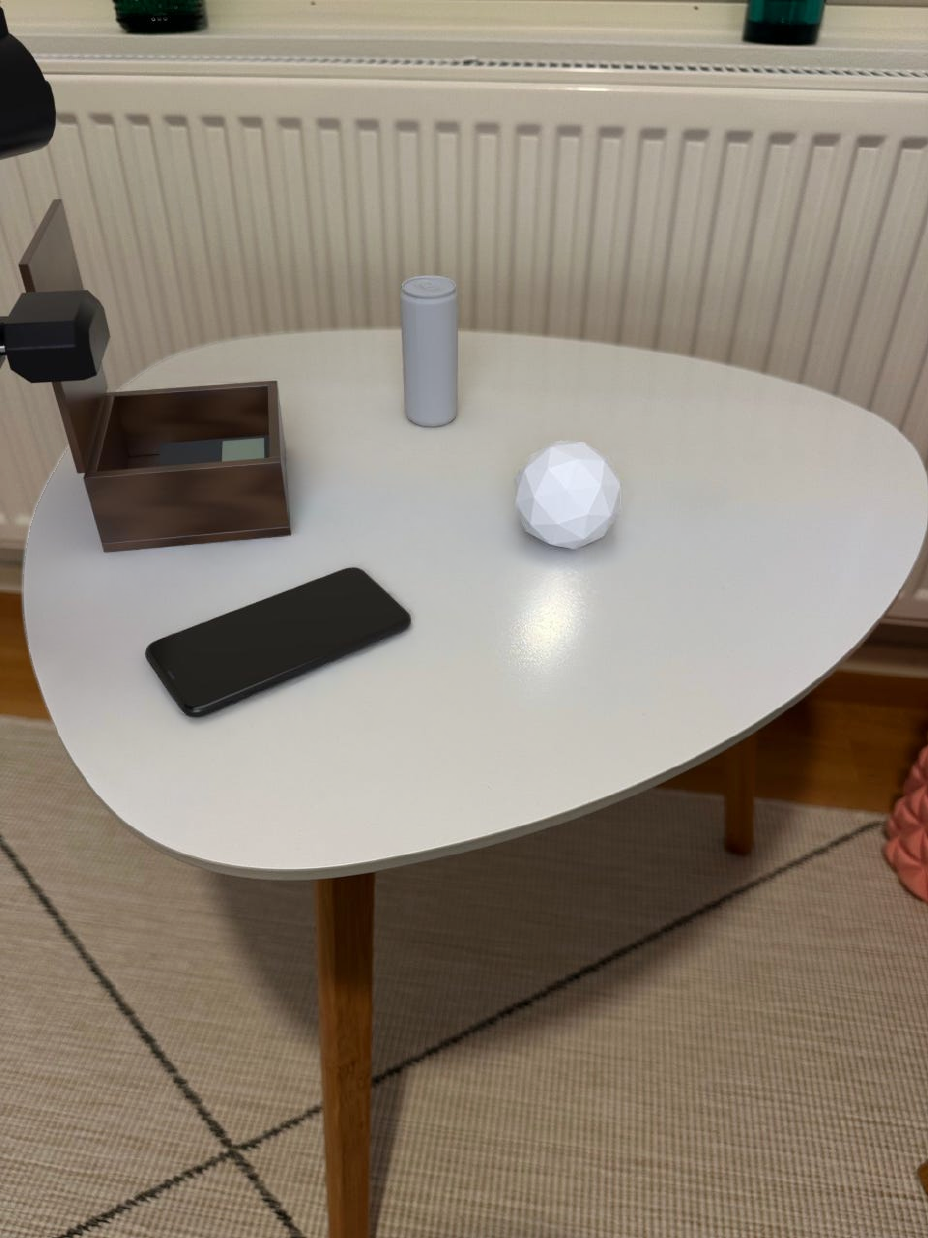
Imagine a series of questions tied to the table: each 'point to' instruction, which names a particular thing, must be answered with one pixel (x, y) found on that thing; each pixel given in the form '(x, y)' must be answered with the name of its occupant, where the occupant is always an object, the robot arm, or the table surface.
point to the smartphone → (274, 640)
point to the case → (187, 468)
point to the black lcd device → (213, 450)
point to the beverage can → (430, 349)
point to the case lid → (57, 270)
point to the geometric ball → (567, 494)
